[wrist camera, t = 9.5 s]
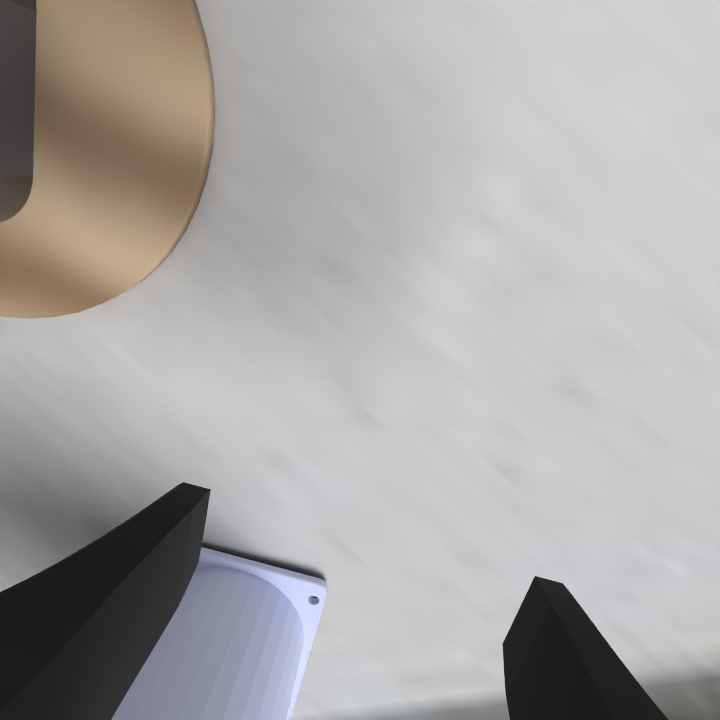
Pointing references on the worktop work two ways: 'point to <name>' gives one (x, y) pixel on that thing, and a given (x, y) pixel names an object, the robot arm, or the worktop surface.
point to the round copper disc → (108, 152)
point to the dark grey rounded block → (16, 103)
